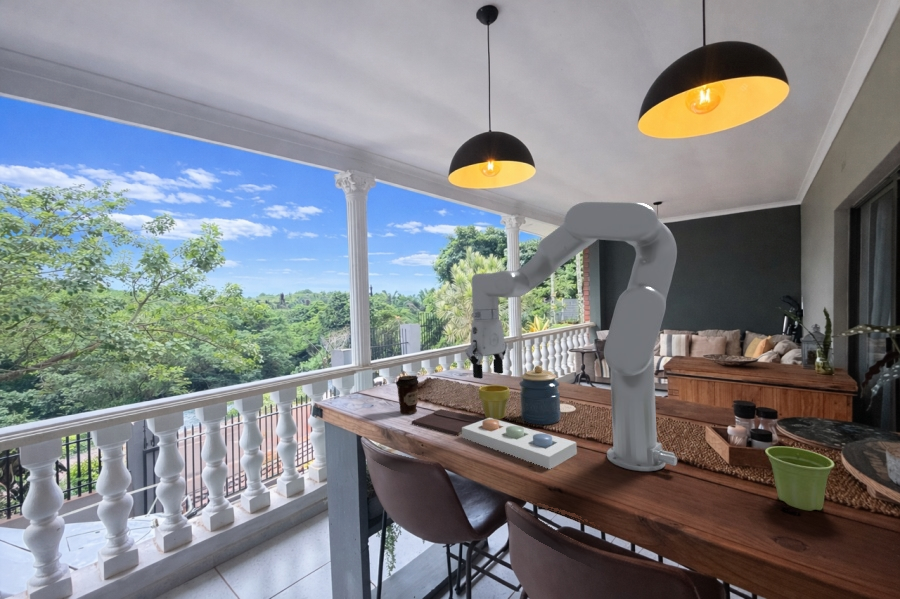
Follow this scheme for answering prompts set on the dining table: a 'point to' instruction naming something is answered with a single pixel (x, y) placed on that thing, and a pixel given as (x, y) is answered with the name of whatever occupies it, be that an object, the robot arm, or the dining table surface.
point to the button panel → (521, 444)
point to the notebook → (447, 421)
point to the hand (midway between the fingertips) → (488, 375)
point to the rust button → (490, 424)
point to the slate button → (542, 440)
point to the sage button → (515, 432)
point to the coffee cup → (407, 394)
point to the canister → (540, 397)
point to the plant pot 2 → (800, 476)
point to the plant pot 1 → (494, 400)
